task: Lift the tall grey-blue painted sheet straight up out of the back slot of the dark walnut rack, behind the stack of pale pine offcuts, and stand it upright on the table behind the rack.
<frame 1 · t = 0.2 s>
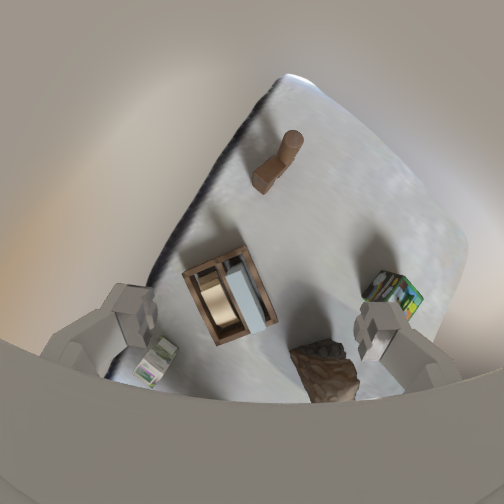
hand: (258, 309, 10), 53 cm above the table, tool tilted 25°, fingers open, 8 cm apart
tall sheet: (246, 287, 64), on the table
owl: (312, 357, 66), on the table
syrup box: (165, 348, 65), on the table
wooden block: (272, 173, 62), on the table
short pine offcut: (219, 302, 60), point 4 cm above the table
long pine offcut: (219, 298, 65), on the table, touching middle pine offcut
chalk box: (381, 293, 65), on the table
middle pine offcut: (219, 300, 62), point 2 cm above the table, touching long pine offcut
walnut rack: (223, 296, 64), on the table
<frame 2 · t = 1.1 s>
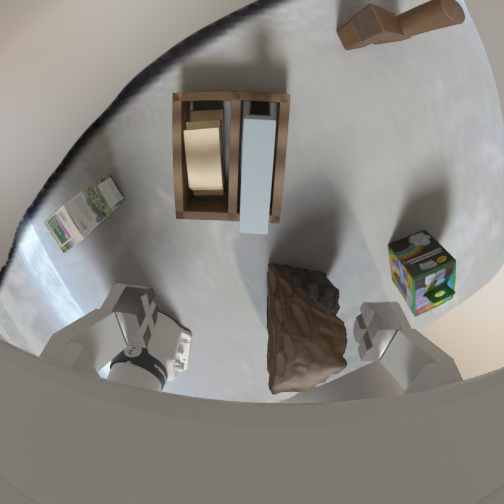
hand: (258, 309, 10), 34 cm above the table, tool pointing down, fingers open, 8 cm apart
tall sheet: (257, 153, 39), on the table
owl: (292, 284, 52), on the table
syrup box: (108, 193, 43), on the table
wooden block: (369, 35, 28), on the table
short pine offcut: (205, 155, 36), point 4 cm above the table
long pine offcut: (209, 150, 40), on the table, touching middle pine offcut
chalk box: (408, 254, 48), on the table
middle pine offcut: (207, 153, 38), point 2 cm above the table, touching long pine offcut
walnut rack: (217, 151, 39), on the table
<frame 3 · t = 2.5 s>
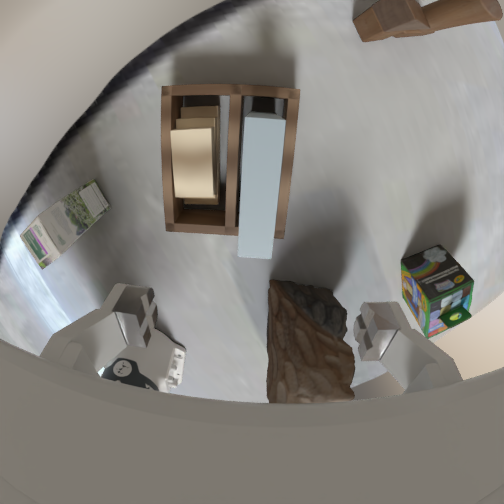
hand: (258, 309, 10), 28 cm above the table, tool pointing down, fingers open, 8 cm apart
tall sheet: (259, 156, 34), on the table
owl: (295, 301, 47), on the table
syrup box: (93, 200, 38), on the table
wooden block: (388, 27, 23), on the table
short pine offcut: (195, 160, 31), point 4 cm above the table
long pine offcut: (203, 153, 35), on the table, touching middle pine offcut
chalk box: (421, 270, 43), on the table
middle pine offcut: (199, 155, 32), point 2 cm above the table, touching long pine offcut
walnut rack: (213, 154, 34), on the table
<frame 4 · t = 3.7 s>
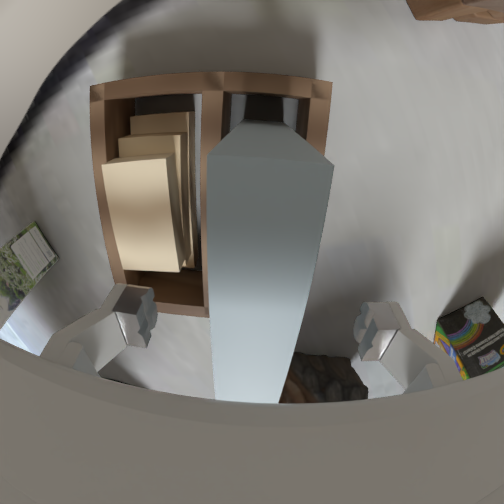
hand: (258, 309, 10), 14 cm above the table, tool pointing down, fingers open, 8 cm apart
tall sheet: (257, 193, 22), on the table
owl: (302, 370, 35), on the table
syrup box: (38, 246, 26), on the table
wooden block: (446, 6, 11), on the table
short pine offcut: (150, 208, 19), point 4 cm above the table, touching middle pine offcut
long pine offcut: (171, 187, 22), on the table, touching middle pine offcut
chalk box: (457, 325, 31), on the table
middle pine offcut: (160, 196, 20), point 2 cm above the table, touching long pine offcut, short pine offcut
walnut rack: (185, 190, 22), on the table
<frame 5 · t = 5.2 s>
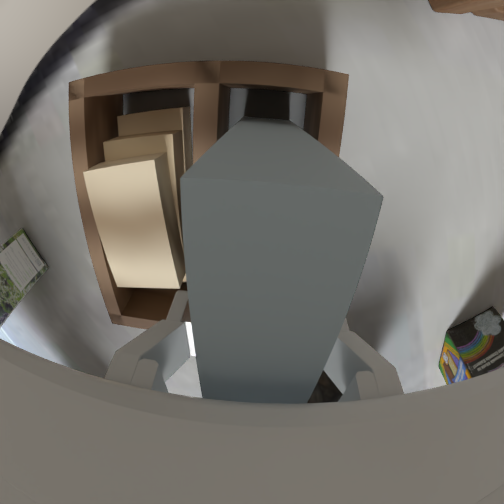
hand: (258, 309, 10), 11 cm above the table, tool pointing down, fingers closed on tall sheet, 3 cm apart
tall sheet: (260, 200, 20), on the table, touching gripper
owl: (306, 383, 32), on the table
syrup box: (27, 254, 23), on the table
short pine offcut: (143, 217, 16), point 4 cm above the table, touching middle pine offcut
long pine offcut: (167, 192, 20), on the table, touching middle pine offcut
chalk box: (465, 335, 28), on the table
middle pine offcut: (155, 203, 18), point 2 cm above the table, touching long pine offcut, short pine offcut
walnut rack: (179, 196, 20), on the table
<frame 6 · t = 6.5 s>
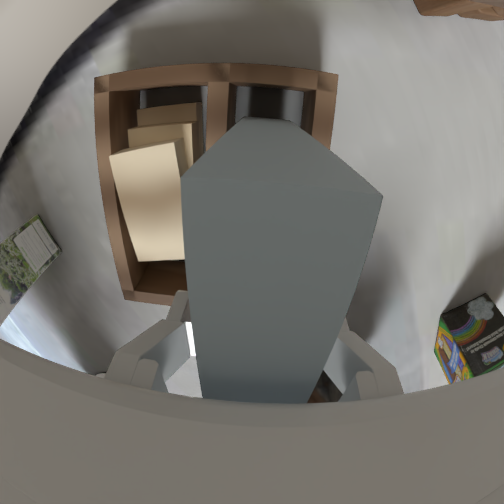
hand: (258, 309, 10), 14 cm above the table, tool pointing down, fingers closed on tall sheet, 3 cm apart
tall sheet: (260, 200, 20), point 3 cm above the table, touching gripper
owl: (305, 365, 35), on the table
syrup box: (41, 240, 26), on the table
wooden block: (451, 2, 10), on the table
short pine offcut: (162, 197, 18), point 4 cm above the table, touching middle pine offcut
long pine offcut: (180, 179, 22), on the table, touching middle pine offcut
chalk box: (460, 321, 31), on the table
middle pine offcut: (172, 186, 20), point 2 cm above the table, touching long pine offcut, short pine offcut
walnut rack: (189, 181, 22), on the table
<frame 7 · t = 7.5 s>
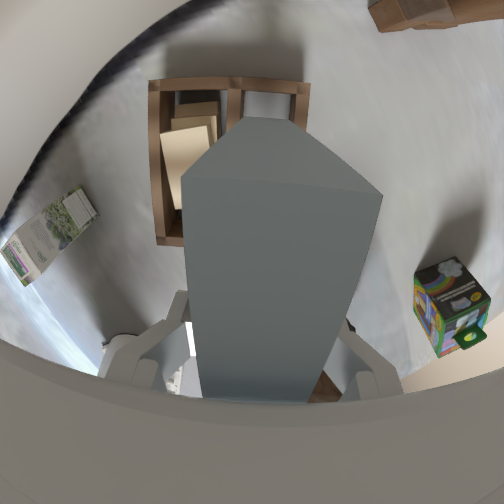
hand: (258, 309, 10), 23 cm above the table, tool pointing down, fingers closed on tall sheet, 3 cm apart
tall sheet: (260, 200, 20), point 12 cm above the table, touching gripper
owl: (299, 316, 43), on the table
syrup box: (80, 207, 34), on the table
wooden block: (407, 18, 19), on the table
short pine offcut: (193, 164, 27), point 4 cm above the table, touching middle pine offcut
long pine offcut: (203, 155, 31), on the table, touching middle pine offcut
chalk box: (434, 283, 39), on the table
middle pine offcut: (199, 160, 28), point 2 cm above the table, touching long pine offcut, short pine offcut
walnut rack: (210, 157, 30), on the table
when the fingers open (12 cm above the table, at t = 14.7 s): tall sheet stays where it is, on the table.
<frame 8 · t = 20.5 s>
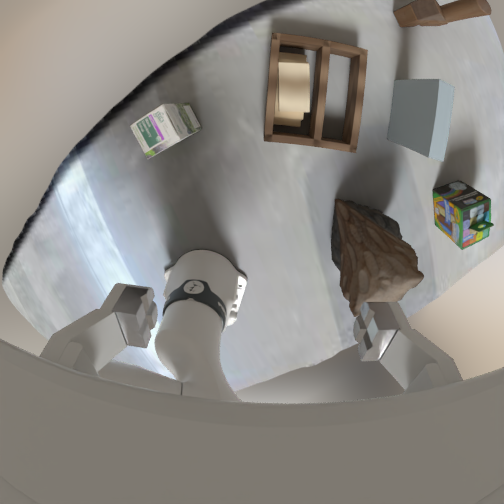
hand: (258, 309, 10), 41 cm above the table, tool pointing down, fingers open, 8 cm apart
tall sheet: (397, 111, 40), on the table
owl: (353, 221, 53), on the table
syrup box: (182, 122, 44), on the table
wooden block: (416, 19, 29), on the table
short pine offcut: (293, 87, 37), point 4 cm above the table, touching middle pine offcut
long pine offcut: (288, 89, 41), on the table, touching middle pine offcut
chalk box: (447, 201, 49), on the table
middle pine offcut: (290, 89, 38), point 2 cm above the table, touching long pine offcut, short pine offcut
walnut rack: (299, 90, 40), on the table
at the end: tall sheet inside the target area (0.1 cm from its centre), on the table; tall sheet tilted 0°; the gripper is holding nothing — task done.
